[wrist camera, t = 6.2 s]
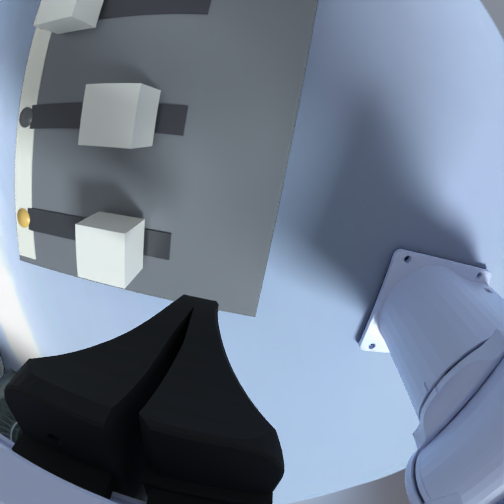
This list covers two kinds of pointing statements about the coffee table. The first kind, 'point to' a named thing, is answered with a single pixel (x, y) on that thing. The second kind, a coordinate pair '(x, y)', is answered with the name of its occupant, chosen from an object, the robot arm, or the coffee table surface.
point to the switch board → (168, 140)
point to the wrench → (1, 369)
